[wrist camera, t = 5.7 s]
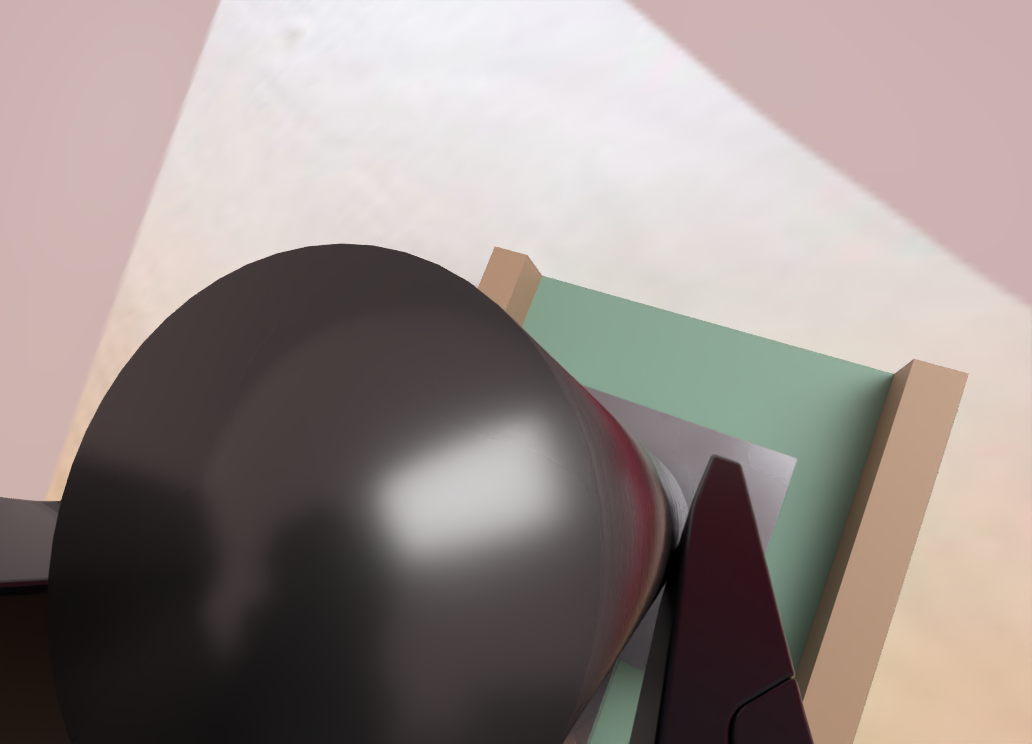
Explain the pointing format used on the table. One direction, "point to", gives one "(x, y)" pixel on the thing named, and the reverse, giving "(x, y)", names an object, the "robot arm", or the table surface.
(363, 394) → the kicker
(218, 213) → the table surface
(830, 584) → the pitch
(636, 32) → the table surface
